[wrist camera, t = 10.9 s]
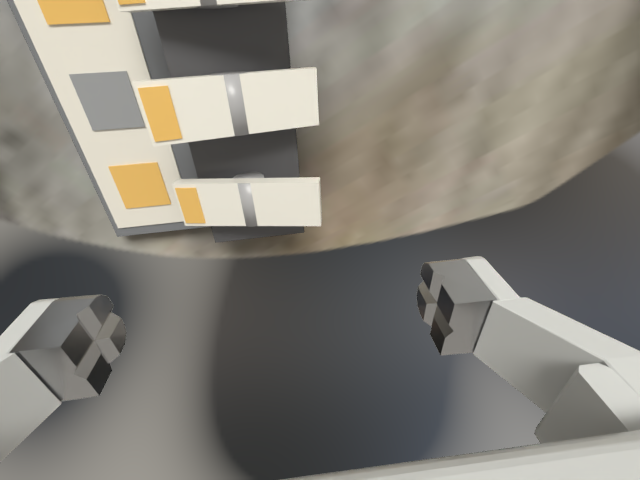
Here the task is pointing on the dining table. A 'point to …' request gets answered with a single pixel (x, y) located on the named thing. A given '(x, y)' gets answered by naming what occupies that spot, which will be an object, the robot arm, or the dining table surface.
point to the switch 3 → (250, 201)
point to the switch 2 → (227, 104)
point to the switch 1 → (184, 4)
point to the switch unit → (124, 111)
